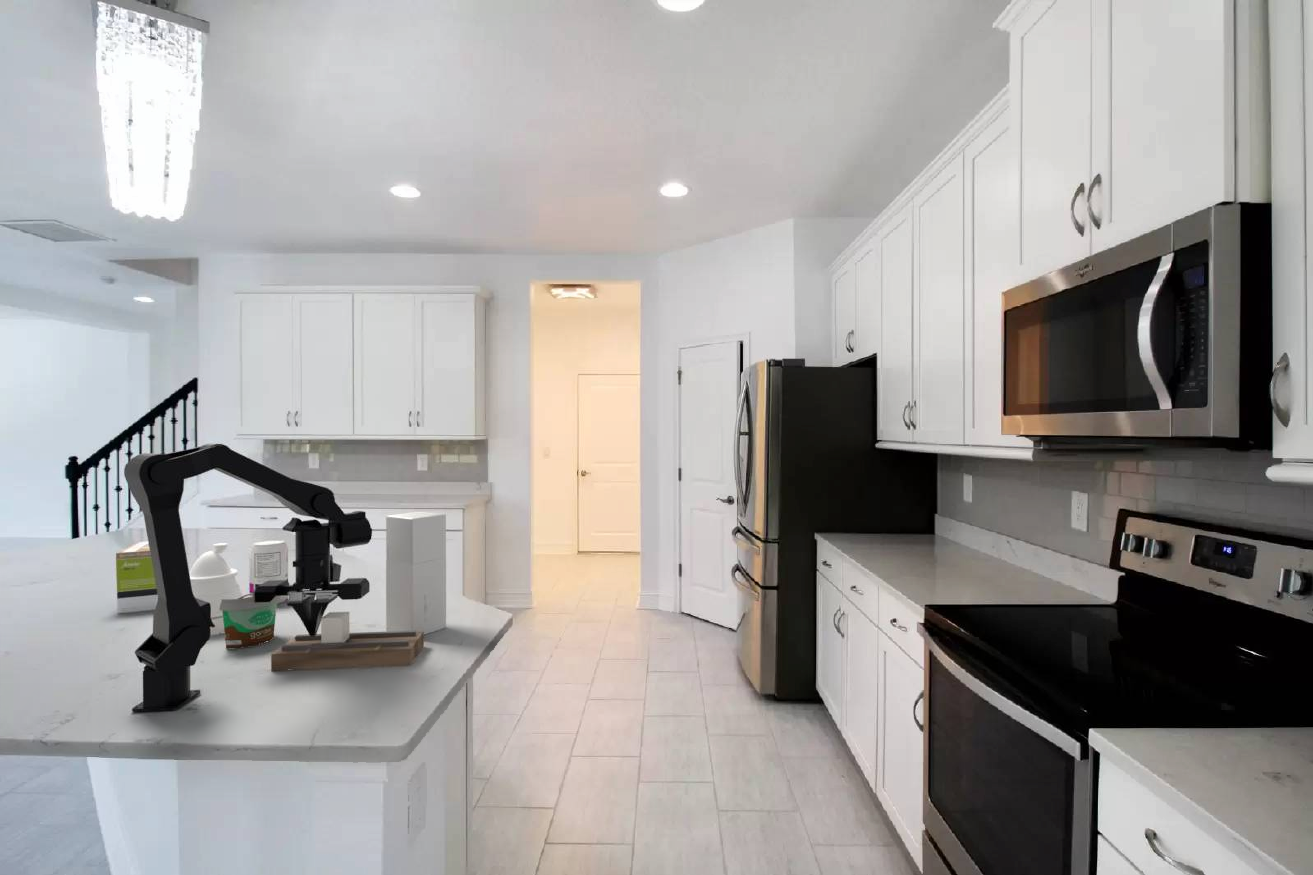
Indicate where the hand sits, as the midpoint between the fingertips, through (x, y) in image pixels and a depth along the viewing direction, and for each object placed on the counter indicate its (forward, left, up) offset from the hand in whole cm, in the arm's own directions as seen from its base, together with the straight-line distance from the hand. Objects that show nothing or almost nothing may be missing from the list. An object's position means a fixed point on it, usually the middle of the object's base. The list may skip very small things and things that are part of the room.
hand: (313, 635), depth 118 cm
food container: (+12, +15, -5) cm, 20 cm away
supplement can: (+43, +27, -5) cm, 51 cm away
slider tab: (0, -4, -1) cm, 4 cm away
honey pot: (+23, +30, -5) cm, 38 cm away
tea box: (+45, +55, -5) cm, 71 cm away
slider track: (0, -7, -5) cm, 8 cm away
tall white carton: (+16, -15, -5) cm, 22 cm away
